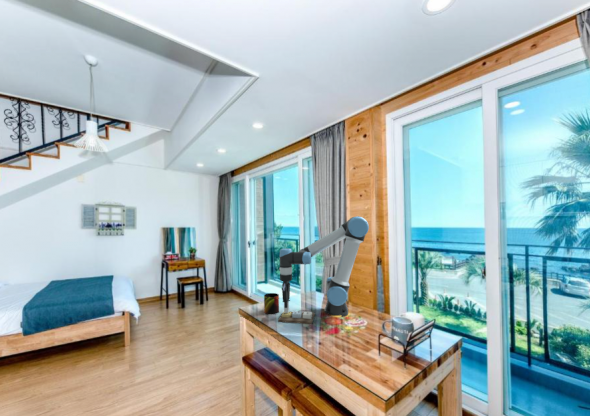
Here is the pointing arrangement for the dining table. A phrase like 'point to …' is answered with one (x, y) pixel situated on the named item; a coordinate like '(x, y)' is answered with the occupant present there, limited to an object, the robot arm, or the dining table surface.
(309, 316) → the tile
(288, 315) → the tile
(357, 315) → the dining table surface
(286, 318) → the board
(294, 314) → the two-dot tile
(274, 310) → the mug
